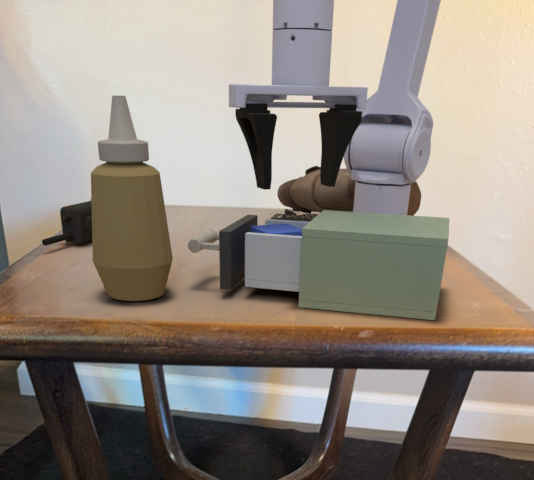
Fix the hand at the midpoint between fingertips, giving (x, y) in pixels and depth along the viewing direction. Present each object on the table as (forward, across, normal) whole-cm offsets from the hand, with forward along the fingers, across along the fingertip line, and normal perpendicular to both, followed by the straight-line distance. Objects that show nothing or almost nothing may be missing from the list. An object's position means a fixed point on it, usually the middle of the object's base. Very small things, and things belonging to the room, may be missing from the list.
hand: (296, 187), depth 67 cm
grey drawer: (+9, +4, +2) cm, 10 cm away
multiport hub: (+10, -16, -24) cm, 30 cm away
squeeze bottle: (+10, +18, 0) cm, 21 cm away
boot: (+5, -31, -26) cm, 41 cm away
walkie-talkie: (+8, +14, -34) cm, 37 cm away
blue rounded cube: (+8, +3, +3) cm, 9 cm away
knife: (+10, -19, -33) cm, 40 cm away
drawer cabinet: (+10, -5, +9) cm, 14 cm away
